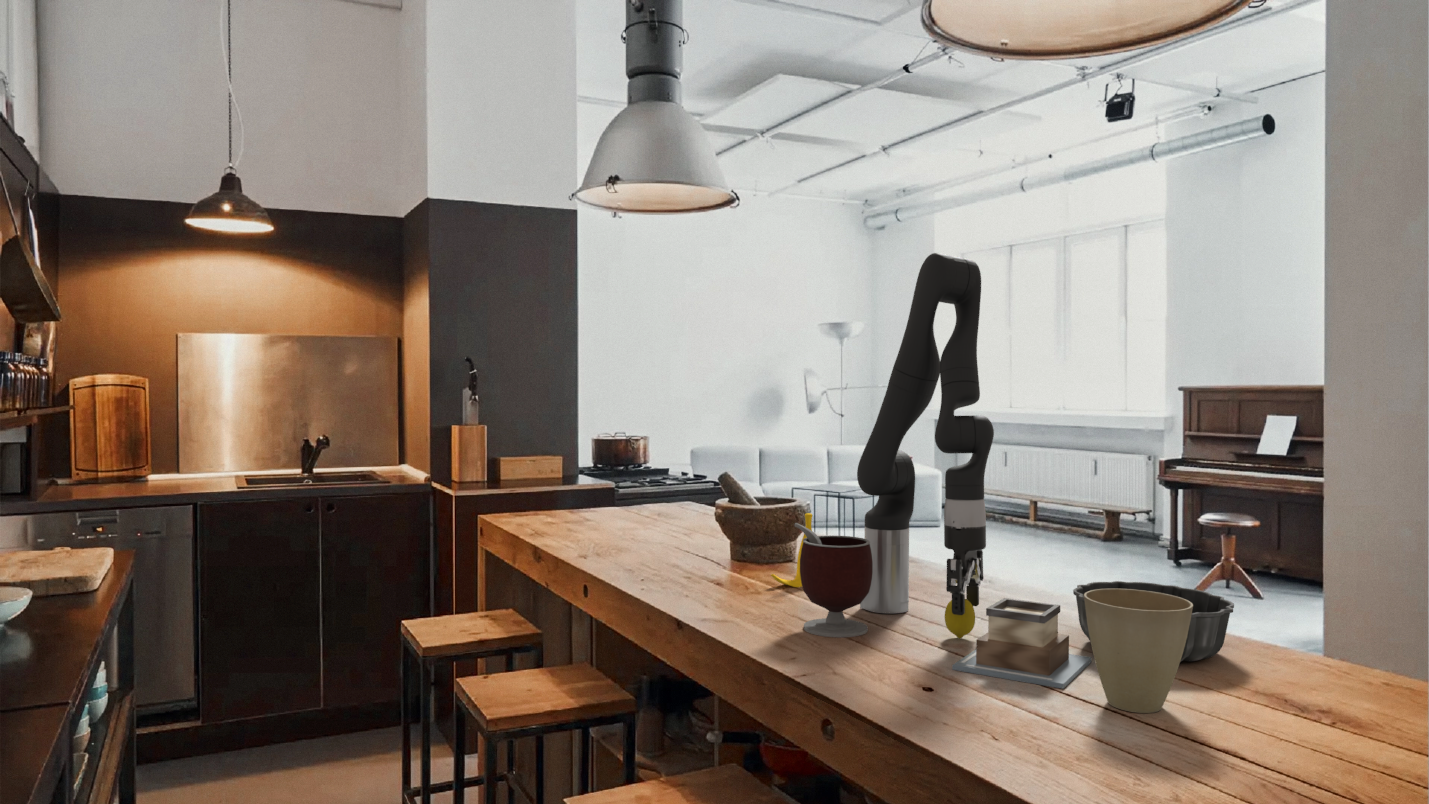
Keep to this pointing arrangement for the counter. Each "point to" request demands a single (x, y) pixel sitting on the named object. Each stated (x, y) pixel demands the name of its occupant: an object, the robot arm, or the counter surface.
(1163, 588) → the bundt pan
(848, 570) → the mate gourd
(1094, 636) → the plant pot
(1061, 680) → the board
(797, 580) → the banana peel
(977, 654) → the block tower
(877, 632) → the counter surface
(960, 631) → the lemon
